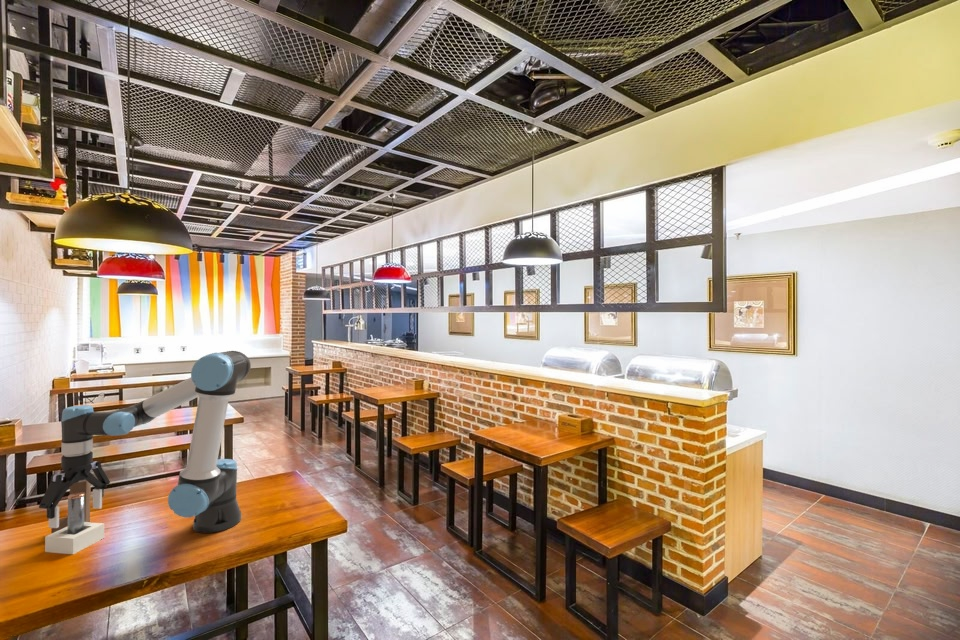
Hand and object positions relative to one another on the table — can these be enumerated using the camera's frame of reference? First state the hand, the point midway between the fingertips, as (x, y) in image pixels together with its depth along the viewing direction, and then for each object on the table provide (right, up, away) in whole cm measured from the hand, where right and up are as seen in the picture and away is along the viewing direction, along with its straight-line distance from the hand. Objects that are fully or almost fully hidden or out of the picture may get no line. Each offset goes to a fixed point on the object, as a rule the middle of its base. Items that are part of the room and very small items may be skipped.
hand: (76, 517), depth 139 cm
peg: (0, -9, 0) cm, 9 cm away
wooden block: (-10, -9, +8) cm, 15 cm away
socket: (0, -9, 0) cm, 9 cm away
